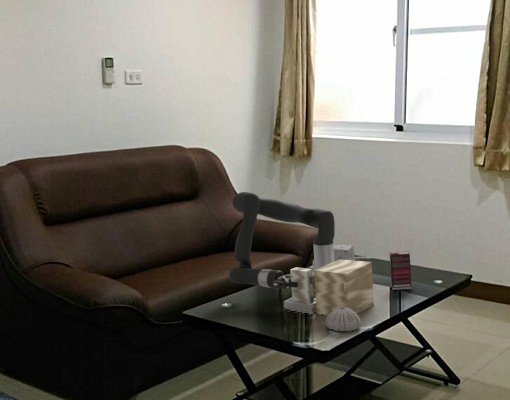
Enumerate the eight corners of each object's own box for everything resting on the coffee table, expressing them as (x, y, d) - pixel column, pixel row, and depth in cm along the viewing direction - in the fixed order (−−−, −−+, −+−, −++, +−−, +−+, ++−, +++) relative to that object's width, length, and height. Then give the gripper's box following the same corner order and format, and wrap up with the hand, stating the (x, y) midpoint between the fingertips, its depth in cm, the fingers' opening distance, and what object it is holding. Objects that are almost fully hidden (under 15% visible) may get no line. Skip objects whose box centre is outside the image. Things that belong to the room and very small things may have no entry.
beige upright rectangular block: (292, 307, 328) (290, 269, 325) (298, 304, 331) (295, 267, 328) (311, 309, 322) (308, 271, 320) (316, 307, 326) (314, 269, 323)
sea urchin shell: (334, 321, 309) (333, 301, 308) (367, 324, 302) (366, 304, 301) (320, 332, 298) (318, 311, 297) (353, 335, 291) (352, 314, 290)
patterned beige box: (312, 313, 321) (309, 269, 318) (337, 300, 337) (335, 258, 334) (349, 318, 311) (346, 273, 308) (373, 304, 327) (371, 262, 324)
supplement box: (410, 286, 350) (409, 251, 348) (411, 289, 346) (410, 253, 343) (390, 287, 351) (389, 252, 349) (391, 290, 347) (390, 254, 344)
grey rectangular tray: (284, 310, 327) (283, 301, 327) (297, 304, 335) (296, 295, 334) (311, 314, 319) (311, 305, 319) (324, 308, 327) (323, 298, 326)
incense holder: (330, 267, 394) (329, 247, 392) (338, 263, 401) (337, 243, 399) (348, 269, 388) (347, 248, 387) (356, 265, 395) (355, 244, 394)
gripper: (260, 274, 329) (293, 277, 319) (280, 266, 340) (312, 269, 330) (261, 291, 330) (294, 295, 320) (281, 283, 341) (313, 287, 331)
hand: (303, 282), depth 325 cm, fingers open, 8 cm apart
